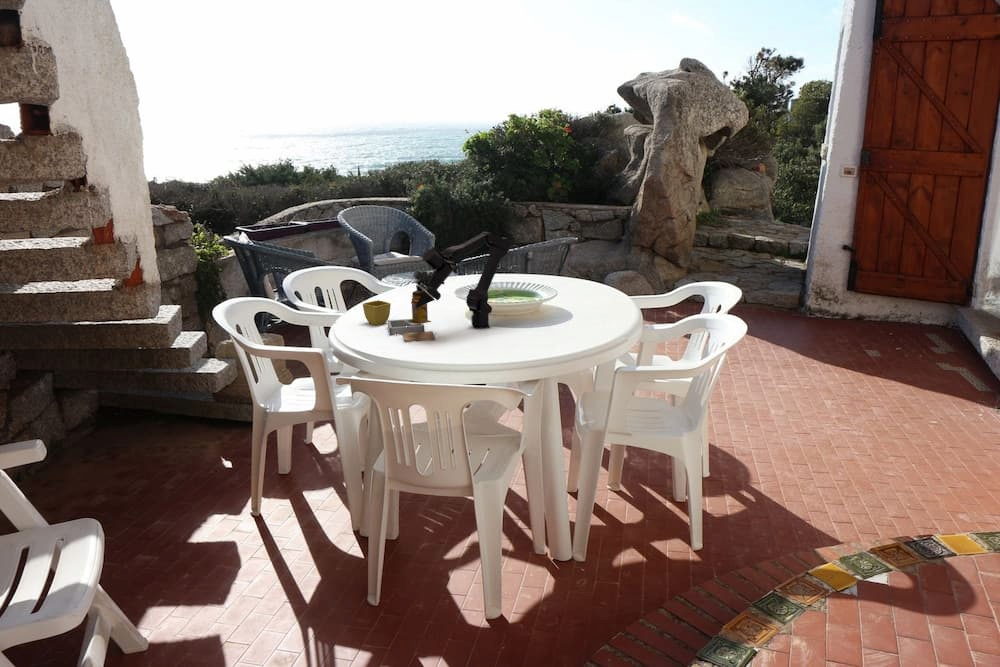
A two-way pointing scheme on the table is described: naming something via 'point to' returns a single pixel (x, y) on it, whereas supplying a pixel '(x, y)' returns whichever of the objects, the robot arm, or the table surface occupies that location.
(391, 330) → the parts tub
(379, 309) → the flower pot
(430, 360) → the table surface
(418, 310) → the condiment
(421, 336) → the walnut board
